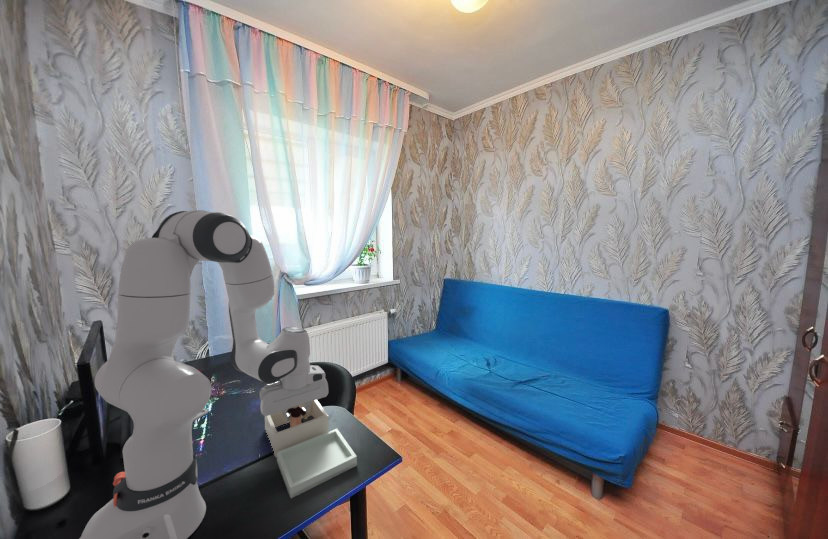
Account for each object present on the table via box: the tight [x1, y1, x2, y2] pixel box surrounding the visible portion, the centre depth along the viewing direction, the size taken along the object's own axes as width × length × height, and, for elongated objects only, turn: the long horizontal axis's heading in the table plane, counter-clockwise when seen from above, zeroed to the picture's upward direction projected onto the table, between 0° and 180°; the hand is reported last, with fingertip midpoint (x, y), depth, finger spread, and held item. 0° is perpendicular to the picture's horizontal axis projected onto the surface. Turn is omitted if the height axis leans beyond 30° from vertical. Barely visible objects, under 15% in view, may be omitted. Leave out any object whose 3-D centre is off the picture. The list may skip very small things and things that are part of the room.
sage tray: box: [276, 428, 358, 499], centre depth 85 cm, size 18×14×3 cm
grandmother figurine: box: [286, 406, 308, 428], centre depth 96 cm, size 8×4×13 cm, turn 90°
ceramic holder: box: [264, 399, 330, 458], centre depth 96 cm, size 16×14×7 cm
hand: (296, 416), depth 96 cm, fingers closed on grandmother figurine, 4 cm apart
